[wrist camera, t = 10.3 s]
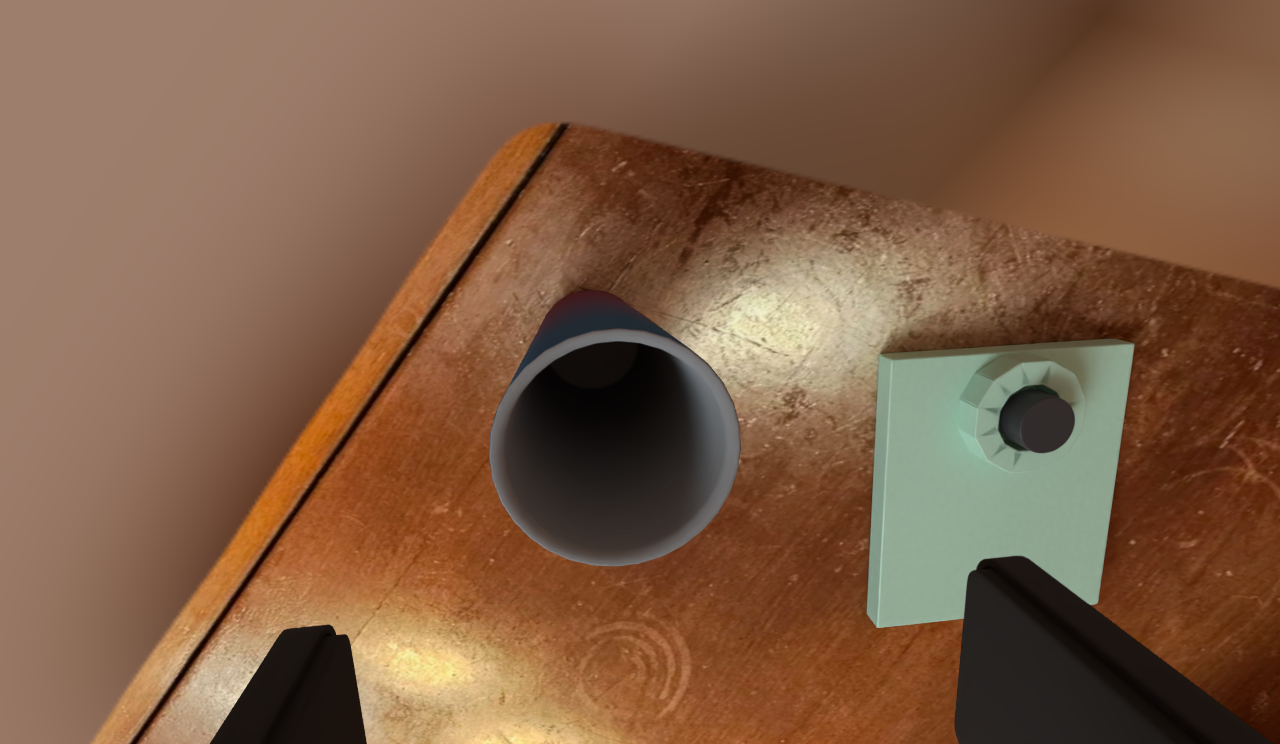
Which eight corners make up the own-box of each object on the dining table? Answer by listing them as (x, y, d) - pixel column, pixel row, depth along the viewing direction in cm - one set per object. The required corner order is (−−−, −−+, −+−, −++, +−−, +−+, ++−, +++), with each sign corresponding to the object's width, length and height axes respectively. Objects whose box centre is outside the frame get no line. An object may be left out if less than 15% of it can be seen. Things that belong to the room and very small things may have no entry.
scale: (878, 353, 35) (907, 367, 32) (1114, 337, 36) (1162, 349, 33) (865, 613, 38) (891, 647, 36) (1080, 590, 40) (1121, 621, 37)
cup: (610, 242, 32) (655, 276, 17) (687, 359, 34) (786, 479, 19) (490, 323, 32) (435, 424, 18) (573, 435, 34) (584, 610, 19)
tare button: (1002, 390, 33) (1023, 399, 32) (1056, 386, 33) (1079, 395, 32) (997, 445, 34) (1017, 456, 32) (1049, 440, 34) (1072, 451, 33)
